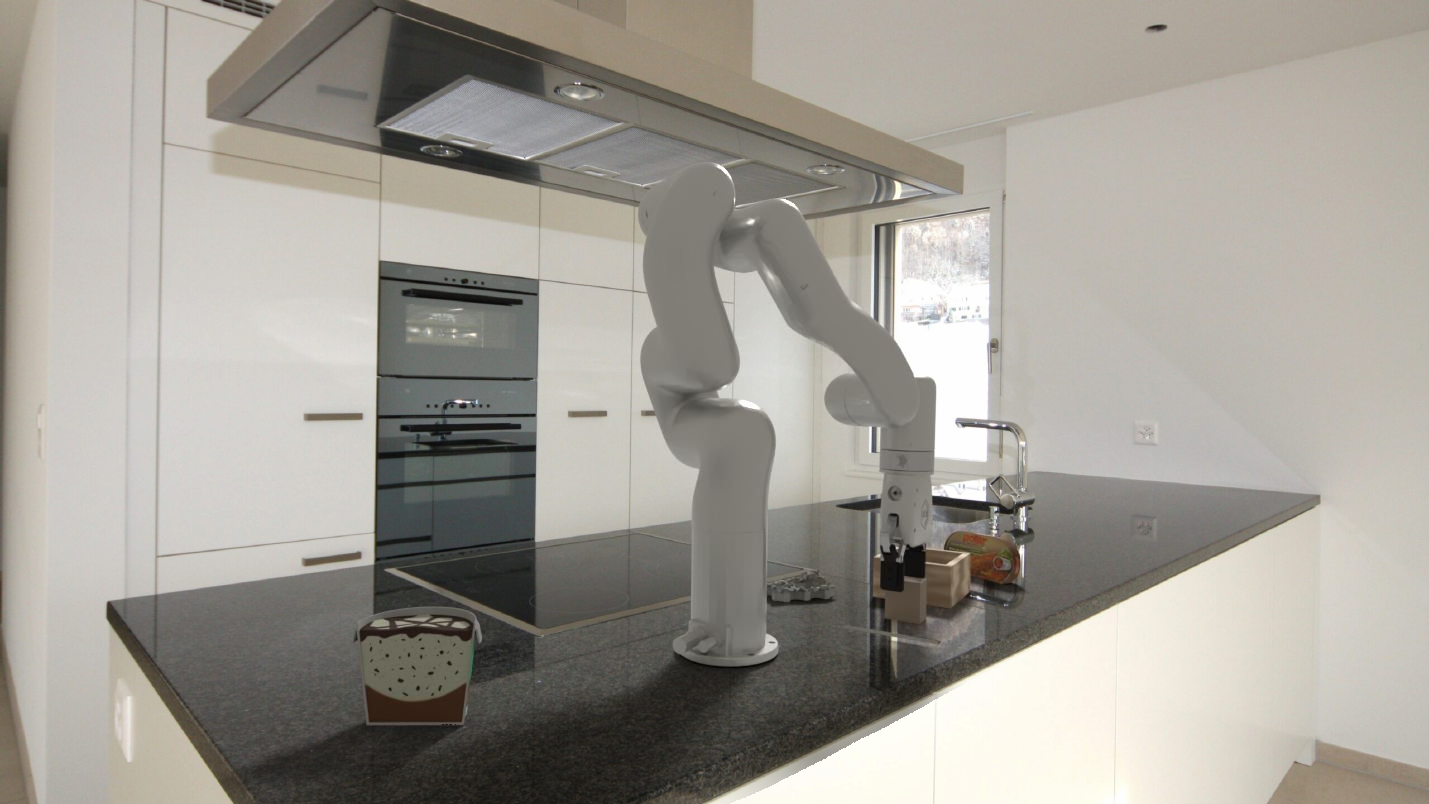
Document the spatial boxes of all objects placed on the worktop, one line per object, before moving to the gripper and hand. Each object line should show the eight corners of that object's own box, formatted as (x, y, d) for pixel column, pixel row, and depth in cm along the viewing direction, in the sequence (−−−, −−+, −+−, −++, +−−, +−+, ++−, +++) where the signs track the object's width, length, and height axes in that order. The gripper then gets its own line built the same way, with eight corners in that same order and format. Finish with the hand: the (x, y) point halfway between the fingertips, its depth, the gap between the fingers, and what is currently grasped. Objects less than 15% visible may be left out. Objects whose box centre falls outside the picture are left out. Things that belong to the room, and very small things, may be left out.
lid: (937, 648, 104) (938, 594, 104) (844, 631, 111) (845, 581, 111) (963, 624, 115) (964, 576, 115) (877, 610, 122) (878, 564, 122)
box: (950, 613, 119) (951, 566, 119) (872, 601, 125) (873, 557, 125) (970, 596, 129) (970, 553, 129) (897, 586, 136) (898, 544, 135)
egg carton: (820, 594, 131) (821, 569, 131) (839, 606, 124) (840, 579, 123) (758, 597, 128) (759, 571, 128) (774, 610, 121) (774, 582, 121)
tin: (941, 573, 146) (942, 527, 146) (953, 571, 147) (954, 526, 147) (1010, 592, 133) (1011, 541, 133) (1023, 589, 135) (1024, 539, 134)
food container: (494, 700, 84) (495, 605, 84) (479, 725, 78) (480, 622, 78) (375, 700, 84) (376, 604, 83) (350, 725, 77) (351, 621, 77)
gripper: (914, 468, 104) (910, 600, 104) (949, 461, 118) (946, 576, 119) (859, 464, 108) (855, 591, 108) (900, 457, 122) (897, 569, 122)
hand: (903, 583), depth 113 cm, fingers open, 9 cm apart
